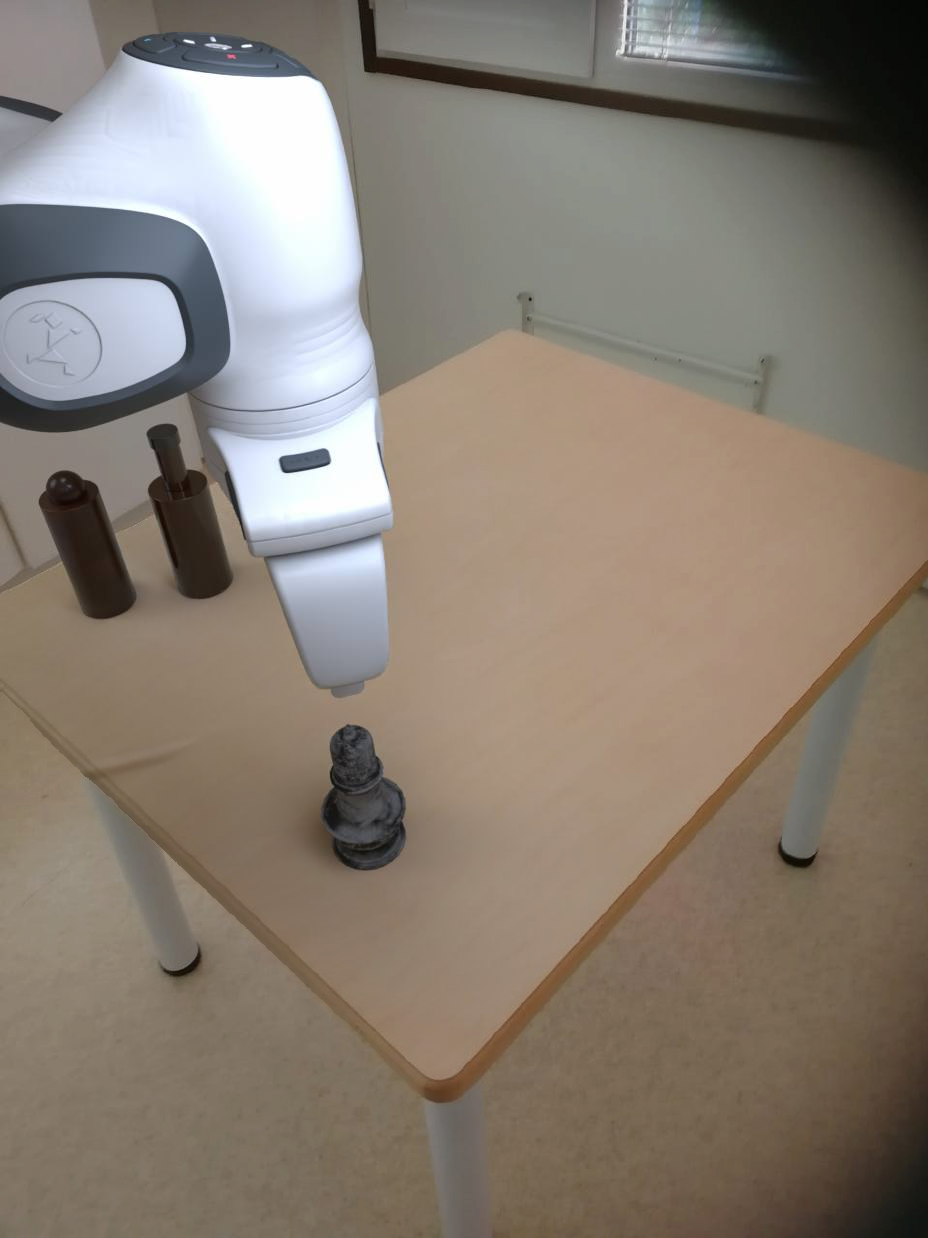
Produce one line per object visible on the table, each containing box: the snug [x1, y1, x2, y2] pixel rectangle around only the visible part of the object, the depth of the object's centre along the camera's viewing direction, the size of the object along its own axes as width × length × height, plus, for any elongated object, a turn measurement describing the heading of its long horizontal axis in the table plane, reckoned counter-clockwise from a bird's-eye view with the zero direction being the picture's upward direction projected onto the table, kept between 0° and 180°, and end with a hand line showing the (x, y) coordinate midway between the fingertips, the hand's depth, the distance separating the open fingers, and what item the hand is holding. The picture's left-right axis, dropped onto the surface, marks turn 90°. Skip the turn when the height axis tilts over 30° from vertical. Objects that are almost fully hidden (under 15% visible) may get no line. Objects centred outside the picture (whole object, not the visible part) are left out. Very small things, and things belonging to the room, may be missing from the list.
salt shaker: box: [320, 723, 407, 871], centre depth 64 cm, size 6×6×12 cm
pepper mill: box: [38, 469, 137, 620], centre depth 85 cm, size 5×5×14 cm
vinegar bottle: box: [145, 423, 234, 600], centre depth 86 cm, size 5×5×16 cm
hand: (331, 632), depth 55 cm, fingers open, 8 cm apart
